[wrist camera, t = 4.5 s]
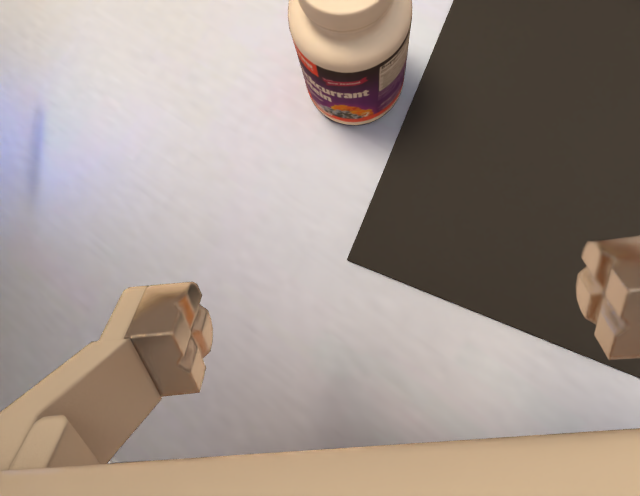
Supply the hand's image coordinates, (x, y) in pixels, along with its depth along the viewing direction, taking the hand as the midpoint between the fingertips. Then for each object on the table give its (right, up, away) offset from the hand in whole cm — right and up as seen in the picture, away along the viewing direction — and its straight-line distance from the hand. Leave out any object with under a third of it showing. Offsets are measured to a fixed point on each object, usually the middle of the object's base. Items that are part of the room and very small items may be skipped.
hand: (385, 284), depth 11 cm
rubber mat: (+11, +6, +16) cm, 20 cm away
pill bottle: (+1, +10, +18) cm, 20 cm away
